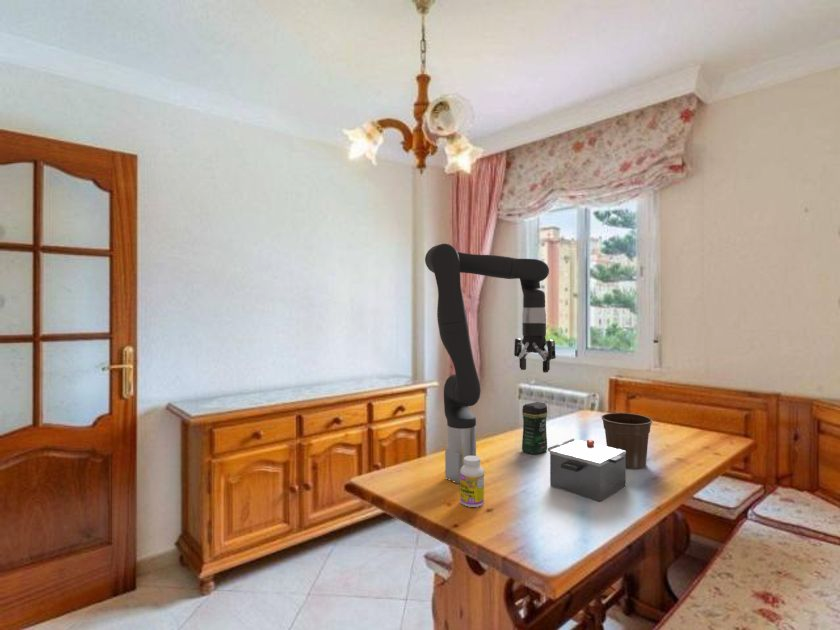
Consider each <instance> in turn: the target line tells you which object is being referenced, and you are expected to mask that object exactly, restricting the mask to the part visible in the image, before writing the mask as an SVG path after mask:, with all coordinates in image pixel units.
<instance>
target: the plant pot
mask: <svg viewBox="0 0 840 630" xmlns="http://www.w3.org/2000/svg"><path fill="white" fill-rule="evenodd" d="M600 417H601V420H602V422H603V429H604V432H605V440H606V441H605V442H606V446H607V447H612V448H616V449H621V450H625V451H626V470H627V469H628V470H640V469H643V468H645V467H646V466H647V458H648V448H649V447H648V446H649V435H650V432H651V427H652V426H651V425H652V423H653V419H652V418H650V417H649V416H645V415H642V414H638V413H637V414H636V413H629V412H609V413H604V414H602V415H601V416H600Z"/></svg>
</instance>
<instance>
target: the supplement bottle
mask: <svg viewBox="0 0 840 630" xmlns="http://www.w3.org/2000/svg"><path fill="white" fill-rule="evenodd" d="M481 463H482V461H481V457H479V456H478V455H476V456H466V457H464V464H465V465H464V466H462V468H461V470H460V484H459V486H460V487H459V490H460V491H459V493H460V494H459V497H460V498H459V501H460V504H461V505H462V504H463V505H462V506H464V505H465V506H464V507H466V506H468V507H467V508H470V507H477V508H480V507H482V506H483V505H484V504H485V470H484V467H482V466H481ZM479 506H480V507H479Z"/></svg>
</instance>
